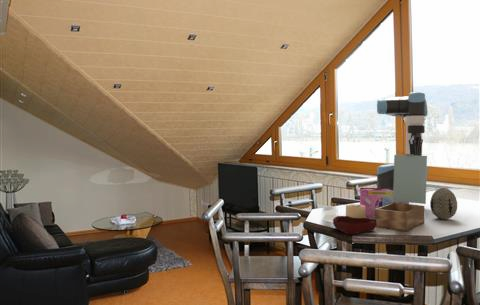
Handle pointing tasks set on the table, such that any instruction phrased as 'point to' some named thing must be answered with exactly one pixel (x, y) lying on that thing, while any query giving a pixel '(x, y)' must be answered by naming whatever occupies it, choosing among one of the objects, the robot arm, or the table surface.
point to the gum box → (376, 199)
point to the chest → (399, 216)
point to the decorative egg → (443, 203)
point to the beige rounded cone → (355, 211)
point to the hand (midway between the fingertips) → (415, 174)
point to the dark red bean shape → (354, 224)
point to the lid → (410, 178)
